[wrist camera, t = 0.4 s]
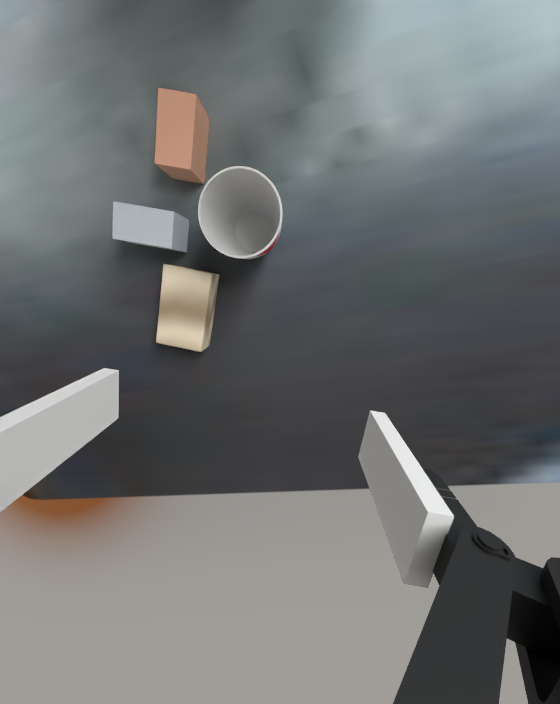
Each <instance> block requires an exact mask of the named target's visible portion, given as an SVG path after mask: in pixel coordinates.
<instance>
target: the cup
mask: <svg viewBox="0 0 560 704" xmlns="http://www.w3.org/2000/svg"><path fill="white" fill-rule="evenodd" d="M198 218H199V223H200V227H201V229H202V232H203V234H204V236H205V237H206V239H207V240H208V242H209V243H210V244H211V245H212V246H213V247H214V248H215V249H216V250H218V251H219V252H221V253H222V254H224V255H227V256H230V257H234V258H241V259H253V258H257V257H260V256H262V255H264V254H266V253H267V252H268V251H269V250H271V248H272V247H273V246H274V245H275V243H276V242H277V240H278V238H279V235H280V232H281V226H282V204H281V200H280V196H279V194H278V192H277V190H276V188H275V186H274V185H273V183H272V182H271V181H270V180H269V179H268V178H267V177H266V176H265V175H264V174H262V173H261V172H259V171H257V170H255V169H253V168H250V167H245V166H233V167H229V168H226V169H223V170H221V171H220V172H218V173H216V174H215V175H214V176H213V177H212V178H211V179H210V180H209V181H208V182H207V184H206V185H205V187H204V189H203V191H202V193H201V196H200V199H199V204H198Z"/></svg>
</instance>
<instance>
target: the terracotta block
mask: <svg viewBox="0 0 560 704" xmlns="http://www.w3.org/2000/svg"><path fill="white" fill-rule="evenodd" d="M209 124H210V119H209V117H208V115H207V113H206V111H205V109H204V107H203V105H202V104H201V102H200V100H199V98H198V96H197V94H194V93H188V92H182V91H176V90H170V89H164V88H158V105H157V125H156V145H155V164H156V165H157V166H158V167H159V168H161V169H162V170H163V171H164V172H165V173H167V174H168V175H169V176H170V177H171V178H173V179H177V180H183V181H189V182H195V183H201V184H204V180H205V169H206V158H207V147H208V136H209Z"/></svg>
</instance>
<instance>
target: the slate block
mask: <svg viewBox="0 0 560 704" xmlns="http://www.w3.org/2000/svg"><path fill="white" fill-rule="evenodd" d="M188 231H189V220H188V219H186V218H184V217H183V216H181V215H179V214H177V213H176V212H174V211H168V210H162V209H156V208H150V207H144V206H138V205H132V204H126V203H120V202H115V201H113V237H112V239H117V240H121V241H125V242H130V243H134V244H140V245H145V246H151V247H157V248H163V249H169V250H175V251H181V252H187V243H188Z"/></svg>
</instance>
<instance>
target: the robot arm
mask: <svg viewBox="0 0 560 704" xmlns="http://www.w3.org/2000/svg"><path fill="white" fill-rule="evenodd" d="M118 412H119V370H113V369H107V368H103V369H101V370H99V371H97V372H95V373H93V374H91V375H89V376H86V377H84V378H82V379H80V380H78V381H76V382H74V383H72V384H69V385H67V386H65V387H63V388H61V389H59V390H57V391H55V392H52V393H50V394H48V395H46V396H44V397H42V398H40V399H38V400H36V401H33V402H31V403H29V404H27V405H25V406H23V407H20V408H16V409H13V410H10V411H8V412H5V413H3V414H1V415H0V512H1V511H2V510H3V509H5V508H6V507H7V506H8V505H10V504H11V503H12V502H14V501H15V500H16V499H17V498H19V497H20V496H21V495H22V494H24V493H25V492H26V491H27V490H29V489H30V488H31V487H33V486H34V485H35V484H36V483H38V482H39V481H40V480H41V479H43V478H44V477H45V476H46V475H48V474H49V473H50V472H51V471H53V470H54V469H55V468H56V467H58V466H59V465H60V464H61V463H63V462H64V461H65V460H66V459H68V458H69V457H70V456H72V455H73V454H74V453H75V452H77V451H78V450H79V449H80V448H82V447H83V446H84V445H85V444H87V443H88V442H89V441H90V440H92V439H93V438H94V437H95V436H97V435H98V434H99V433H100V432H102V431H103V430H104V429H105V428H107V427H108V426H109V425H111V424H112V423H113V422H114V421H116V420H117V419H118ZM359 460H360V463H361V466H362V468H363V471H364V474H365V477H366V480H367V482H368V485H369V488H370V491H371V493H372V496H373V499H374V502H375V505H376V508H377V510H378V513H379V516H380V519H381V522H382V524H383V527H384V530H385V533H386V536H387V538H388V541H389V544H390V547H391V550H392V552H393V555H394V558H395V561H396V564H397V567H398V569H399V572H400V575H401V578H402V581H403V583H404V584H408V585H414V586H420V587H426V588H428V586H429V583H430V581H431V578H432V575H433V573H434V575H435V577H436V579H437V581H438V583H439V585H440V586H439V589H438V592H437V594H436V597H435V599H434V601H433V604H432V606H431V609H430V612H429V614H428V617H427V619H426V622H425V624H424V627H423V630H422V632H421V635H420V637H419V639H418V642H417V645H416V647H415V650H414V652H413V654H412V657H411V660H410V662H409V665H408V667H407V670H406V672H405V675H404V677H403V680H402V682H401V685H400V687H399V690H398V692H397V695H396V697H395V700H394V703H393V704H499V696H500V687H501V680H502V671H503V663H504V655H505V647H506V639H507V638H508V639H510V640H512V641H514V642H515V643H516V648H517V652H518V656H519V661H520V666H521V671H522V676H523V680H524V685H525V690H526V694H527V699H528V704H560V558H550V559H549V560H547V562H546V564H545V566H544V568H541V567H538V566H536V565H533V564H530V563H528V562H526V561H523V560H520V559H518V558H516V557H515V555H514V554H513V552H512V551H511V549H510V548H509V547H508V546H507V545H506V544H505V543H504V542H503V541H502V540H501V539H499V538H498V537H496V536H495V535H494V534H492V533H491V532H489V531H486V530H484V529H482V528H479V527H477V526H476V524H475V523H474V522H473V520H472V519H471V518H470V516H469V515H468V513H467V512H466V511H465V509H464V508H463V507H462V505H461V504H460V503H459V501H458V500H456V497H455V496H454V495H453V493H452V492H451V491H450V489H449V488H448V486H447V485H446V483H445V482H444V481H443V479H441V478H440V477H439V476H438V475H437V474H435V473H434V472H433V471H432V470H429V469H422V468H421V466H420V465H419V463H418V462H417V460H416V459H415V457H414V456H413V454H412V453H411V451H410V450H409V448H408V447H407V445H406V444H405V442H404V441H403V439H402V438H401V436H400V435H399V433H398V432H397V430H396V429H395V427H394V426H393V424H392V423H391V421H390V420H389V418H388V417H387V415H386V414H385V413H382V412H376V411H370V413H369V417H368V421H367V425H366V429H365V433H364V437H363V441H362V445H361V449H360V453H359Z"/></svg>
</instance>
